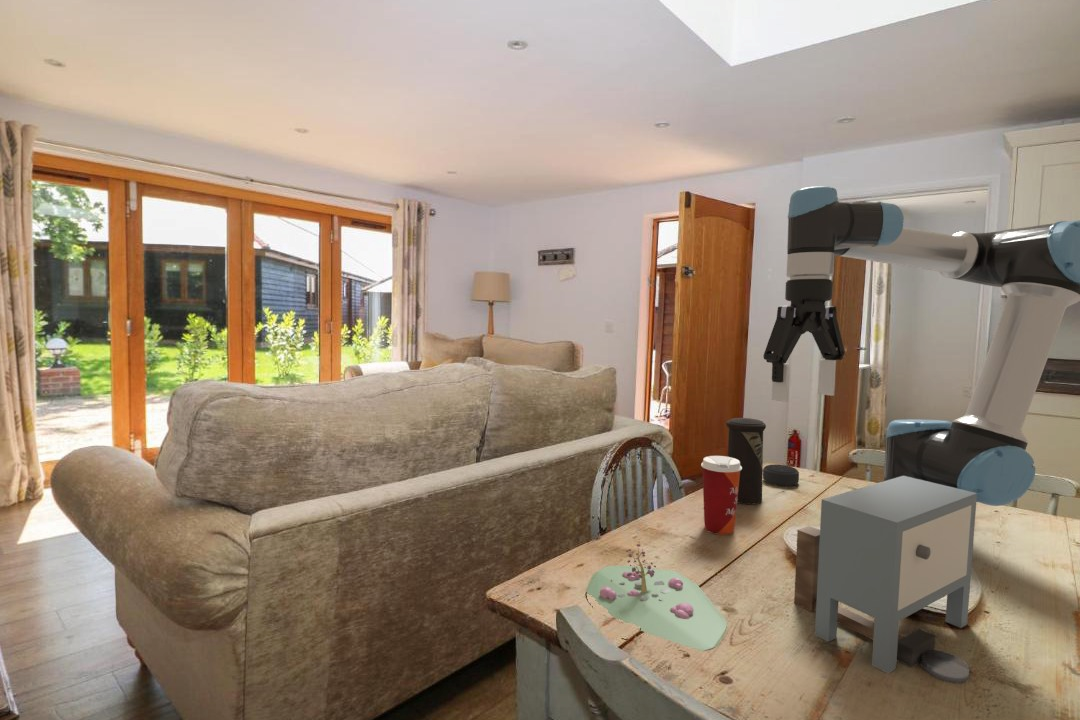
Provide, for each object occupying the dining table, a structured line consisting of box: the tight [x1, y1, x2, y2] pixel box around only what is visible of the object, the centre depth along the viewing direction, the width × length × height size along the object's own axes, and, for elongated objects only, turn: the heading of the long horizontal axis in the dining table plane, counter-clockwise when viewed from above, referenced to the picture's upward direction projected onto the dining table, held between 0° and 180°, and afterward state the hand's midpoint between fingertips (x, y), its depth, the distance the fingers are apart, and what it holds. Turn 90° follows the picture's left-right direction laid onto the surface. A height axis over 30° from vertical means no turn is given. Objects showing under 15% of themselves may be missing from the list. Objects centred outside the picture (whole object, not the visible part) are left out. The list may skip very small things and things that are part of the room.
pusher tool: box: [793, 525, 936, 668], centre depth 82 cm, size 18×6×12 cm, turn 31°
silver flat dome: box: [920, 649, 970, 684], centre depth 73 cm, size 5×5×2 cm
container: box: [725, 417, 767, 505], centre depth 137 cm, size 9×9×20 cm
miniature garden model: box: [586, 543, 728, 652], centre depth 89 cm, size 25×21×9 cm
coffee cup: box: [700, 455, 742, 536], centre depth 119 cm, size 8×8×15 cm
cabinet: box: [814, 476, 977, 674], centre depth 81 cm, size 22×11×20 cm, turn 121°
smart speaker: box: [762, 464, 800, 487], centre depth 152 cm, size 9×9×4 cm
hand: (803, 397), depth 101 cm, fingers open, 13 cm apart
